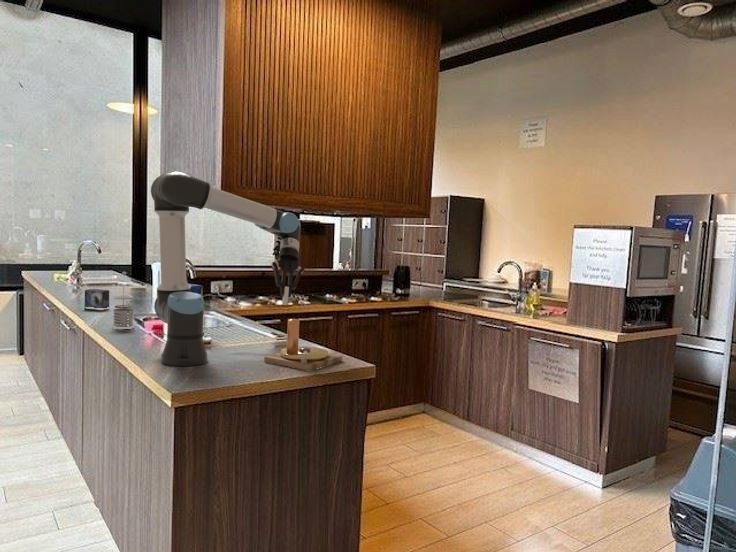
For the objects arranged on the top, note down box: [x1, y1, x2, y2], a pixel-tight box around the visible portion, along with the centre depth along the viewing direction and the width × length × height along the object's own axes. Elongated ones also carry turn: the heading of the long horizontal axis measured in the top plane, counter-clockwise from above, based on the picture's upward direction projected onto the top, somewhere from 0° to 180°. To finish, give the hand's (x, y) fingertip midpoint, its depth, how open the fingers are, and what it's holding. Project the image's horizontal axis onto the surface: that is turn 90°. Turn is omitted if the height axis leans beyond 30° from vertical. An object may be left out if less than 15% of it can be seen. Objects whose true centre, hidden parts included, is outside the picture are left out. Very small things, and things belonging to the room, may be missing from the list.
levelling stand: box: [264, 352, 344, 372], centre depth 198 cm, size 20×20×5 cm
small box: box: [84, 288, 110, 308], centre depth 290 cm, size 11×6×10 cm, turn 80°
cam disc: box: [280, 318, 329, 361], centre depth 197 cm, size 17×17×14 cm
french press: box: [112, 271, 135, 327], centre depth 242 cm, size 10×12×25 cm
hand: (284, 303), depth 205 cm, fingers closed
